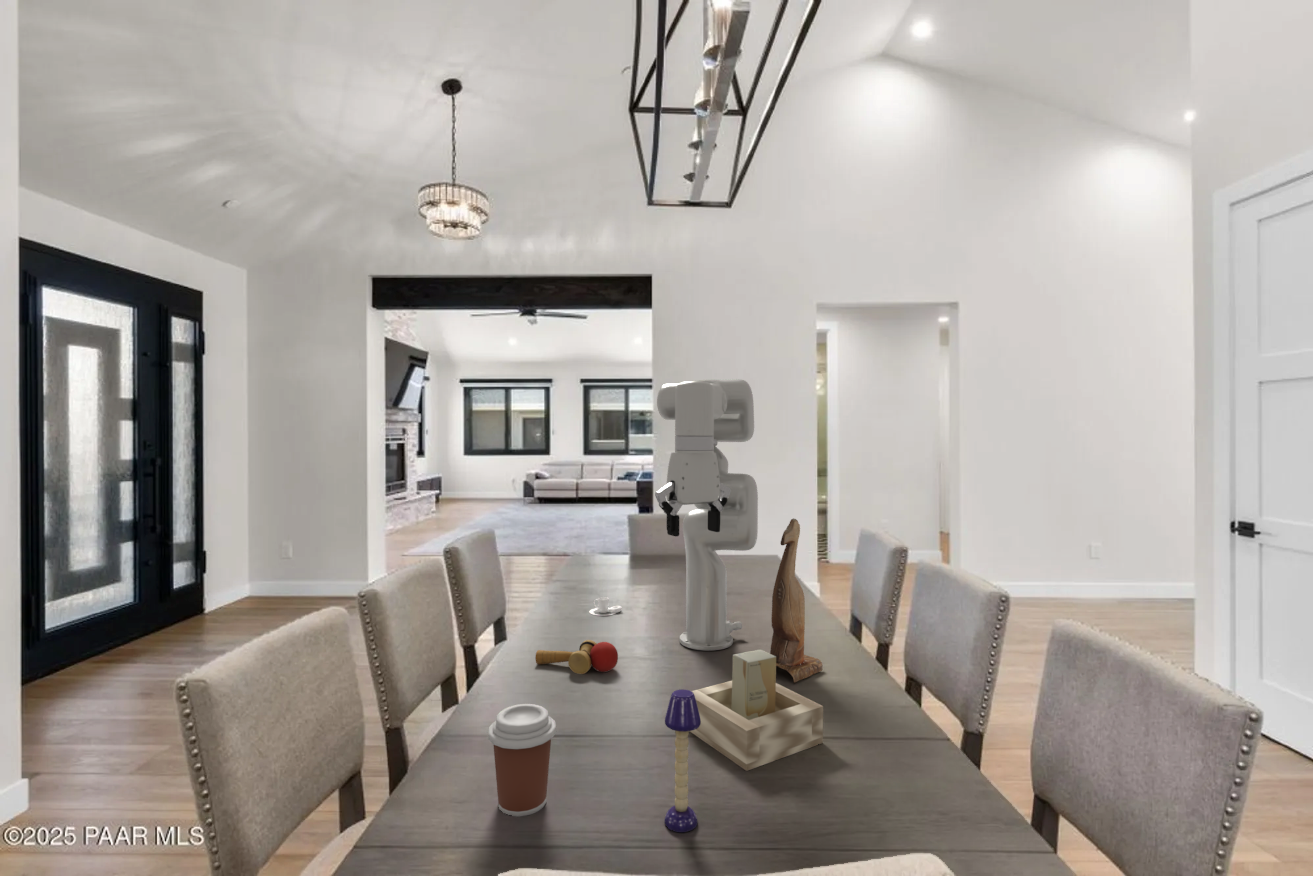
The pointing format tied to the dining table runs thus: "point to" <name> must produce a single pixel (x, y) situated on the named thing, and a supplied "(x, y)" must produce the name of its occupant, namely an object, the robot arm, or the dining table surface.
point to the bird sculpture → (790, 613)
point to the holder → (758, 726)
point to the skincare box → (753, 684)
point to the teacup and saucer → (605, 607)
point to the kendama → (583, 657)
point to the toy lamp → (682, 757)
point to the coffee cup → (522, 757)
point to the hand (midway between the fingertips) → (693, 533)
